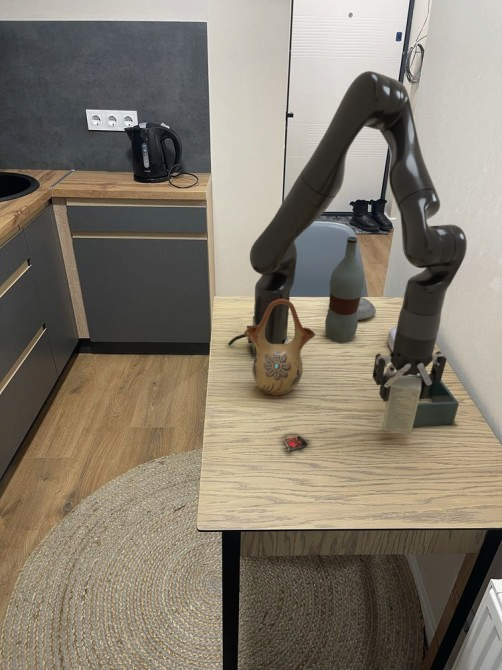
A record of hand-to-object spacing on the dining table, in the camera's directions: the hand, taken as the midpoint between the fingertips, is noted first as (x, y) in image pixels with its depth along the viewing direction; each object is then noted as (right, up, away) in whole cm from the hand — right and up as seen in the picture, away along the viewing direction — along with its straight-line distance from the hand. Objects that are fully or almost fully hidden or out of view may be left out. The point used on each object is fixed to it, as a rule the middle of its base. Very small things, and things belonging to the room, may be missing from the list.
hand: (402, 398), depth 103 cm
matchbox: (-22, -10, +3) cm, 24 cm away
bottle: (-5, +13, +44) cm, 46 cm away
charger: (+13, +10, +40) cm, 43 cm away
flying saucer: (+1, +20, +58) cm, 61 cm away
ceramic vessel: (-25, -1, +19) cm, 32 cm away
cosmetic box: (0, -7, +4) cm, 8 cm away
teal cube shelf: (+9, -5, +14) cm, 17 cm away
